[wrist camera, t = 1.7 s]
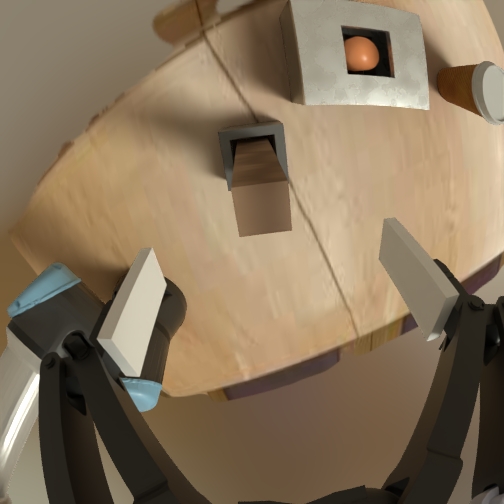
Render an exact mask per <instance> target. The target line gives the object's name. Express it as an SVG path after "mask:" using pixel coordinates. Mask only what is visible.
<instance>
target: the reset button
mask: <svg viewBox="0 0 504 504" xmlns="http://www.w3.org/2000/svg"><path fill="white" fill-rule="evenodd" d="M343 42H344V49H345V57H346V65H347V70H348V71H362V70H370V69H372V68H374V67H375V66H376V65H377V63H378V61H379V52H378V50H377V48H376V46H375V45H374V44H373V43H372V42H371V41H370V40H368V39H367V38H364V37H353V38H351V39H348V40H346V41H343Z"/></svg>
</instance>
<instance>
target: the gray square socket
mask: <svg viewBox="0 0 504 504" xmlns="http://www.w3.org/2000/svg"><path fill="white" fill-rule="evenodd" d="M218 134H219V140H220V146H221V151H222V157H223V163H224V168H225V174H226V179H227V185H228V191H231V183H232V176H233V168H234V161H235V157H234V151H233V145H232V140H233V139H240V138H247V137H254V136H262V135H271V134H272V138H273V146H274V152H275V154H276V156H277V158H278V161H279V163H280V165H281V167H282V169H283V171H284V173H285V175H286V177H287V179H288V183H289V177H288V166H287V156H286V146H285V136H284V127H283V123H281V122H280V121H272V122H263V123H255V124H247V125H240V126H233V127H227V128H221V129H220V131H219V132H218Z"/></svg>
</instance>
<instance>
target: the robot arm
mask: <svg viewBox="0 0 504 504" xmlns="http://www.w3.org/2000/svg"><path fill="white" fill-rule="evenodd" d="M379 260H380V262H381V263H382V265H383V266H384V268H385V269H386V271H387V273H388V274H389V276H390V277H391V279H392V281H393V282H394V284H395V286H396V287H397V289H398V291H399V292H400V294H401V296H402V297H403V299H404V301H405V303H406V304H407V306H408V308H409V310H410V312H411V313H412V315H413V317H414V319H415V321H416V322H417V324H418V326H419V328H420V330H421V332H422V334H423V335H424V338H425V339H426V341H430V340H433V339H436V338H439V337H440V335H441V333H442V331H443V329H444V331H445V332H446V334H447V335H446V337H445V339H444V341H443V342H442V344H441V346H440V348H439V350H441V348H442V351H441V355H440V358H439V363H438V366H437V369H436V373H435V376H434V379H433V383H432V386H431V388H430V392H429V394H428V397H427V400H426V403H425V406H424V408H423V411H422V413H421V416H420V418H419V421H418V423H417V426H416V428H415V430H414V433H413V435H412V437H411V439H410V442H409V444H408V446H407V448H406V450H405V452H404V454H403V456H402V458H401V460H400V462H399V463H398V465H397V467H396V468H395V469H394V470H393V472H392V473H391V474H390V475H389V477H388V478H387V480H386V482H385V483H384V485H383V486H382V488H381V489H377V488H365V485H363V486H360V487H356V488H352V489H347V490H343V491H338V492H334V493H332V494H330V495H328V496H325V497H323V498H320V499H317V500H315V501H312V502H309V503H307V504H447V502H448V500H449V498H450V496H451V494H452V492H453V489H454V487H455V485H456V482H457V480H458V478H459V475H460V473H461V470H462V467H463V461H462V460H461V458H460V454H461V451H462V448H463V445H464V442H465V439H466V436H467V432H468V429H469V426H470V422H471V418H472V414H473V411H474V406H475V402H476V397H477V393H478V388H479V382H480V423H479V438H478V448H477V457H476V464H475V470H474V476H473V483H472V500H471V501H470V503H469V504H504V296H501V297H499V298H498V300H497V302H496V304H485V303H484V301H483V300H482V299H481V298H479V297H477V296H475V295H468V293H467V292H466V291H465V289H464V288H463V287H462V285H461V284H460V283H459V281H458V280H457V279H456V278H455V277H454V275H453V274H452V273H451V272H450V270H449V269H448V268H447V266H446V265H445V264H444V263H442V262H441V261H439V260H438V259H434V260H432V258H431V257H430V256H429V255H428V254H427V252H426V251H425V250H424V249H423V248H422V247H421V245H420V244H419V243H418V242H417V241H416V240H415V239H414V237H413V236H412V235H411V234H410V233H409V232H408V231H407V230H406V229H405V228H404V226H403V225H402V224H401V223H400V222H399V221H398V220H397V219H396V218H387V219H384V223H383V231H382V239H381V246H380V253H379ZM186 310H187V304H186V300H185V297H184V295H183V293H182V292H181V291H180V289H179V288H178V287H177V286H176V285H175V284H174V283H172V282H171V281H170V280H168V279H166V278H165V277H163V274H162V272H161V269H160V267H159V264H158V261H157V259H156V256H155V253H154V251H153V248H152V247H151V248H145V249H140V251H139V253H138V255H137V257H136V258H135V260H134V262H133V264H132V266H131V268H130V270H129V272H128V274H126V275H124V276H123V277H122V278H121V279H120V280H119V281H118V283H117V285H116V287H115V289H114V291H113V295H112V300H109V301H108V302H107V304H106V305H105V304H104V303H103V302H102V301H101V300H100V299H99V298H98V297H97V296H96V295H95V294H94V293H93V292H92V291H91V290H90V289H89V288H88V287H87V286H86V285H85V284H84V283H83V282H82V281H81V278H79V277H77V276H76V275H75V274H74V273H73V272H72V271H71V270H70V269H69V268H68V267H67V266H66V265H64V264H63V263H60V262H56V263H53V264H51V265H50V266H49V267H48V268H47V269H46V270H44V271H43V272H42V273H41V274H40V275H39V276H38V277H37V278H36V279H35V280H34V281H33V282H32V283H31V284H30V285H29V286H28V287H27V288H26V289H25V290H24V291H23V292H22V293H21V294H20V295H19V296H18V297H17V298H16V299H15V300H14V302H13V303H12V304H11V305H10V306H9V307H8V308H7V312H8V314H9V316H10V317H12V320H11V321H10V323H9V324H8V326H7V328H6V331H7V338H8V346H7V347H6V349H5V351H4V352H3V354H2V356H1V358H0V504H12V502H11V499H10V498H9V496H8V494H7V490H8V486H9V483H10V481H11V478H12V475H13V472H14V469H15V467H16V464H17V462H18V459H19V456H20V454H21V452H22V449H23V447H24V445H25V442H26V440H27V438H28V435H29V433H30V431H31V429H32V427H33V425H34V423H35V421H36V418H37V416H38V414H39V437H40V448H41V458H42V466H43V472H44V478H45V485H46V489H47V495H48V499H49V504H114V502H113V499H112V496H111V493H110V490H109V487H108V483H107V480H106V476H105V473H104V469H103V465H102V462H101V457H100V453H99V448H98V444H97V439H96V434H95V429H94V423H95V426H96V428H97V430H98V432H99V435H100V436H101V439H102V441H103V443H104V445H105V447H106V449H107V451H108V453H109V455H110V457H111V459H112V461H113V463H114V464H115V466H116V468H117V470H118V472H119V473H120V475H121V477H122V479H123V480H124V482H125V484H126V485H127V487H128V488H129V490H130V492H131V493H132V495H133V497H134V502H133V504H212V503H211V502H210V501H209V500H207V499H206V498H205V497H204V496H203V495H202V494H200V493H199V492H198V491H197V490H196V489H195V488H194V487H193V486H192V485H191V483H190V482H189V481H188V480H187V479H186V477H185V476H184V475H183V474H182V472H181V471H180V470H179V469H178V467H177V466H176V465H175V463H174V462H173V461H172V459H171V458H170V457H169V455H168V454H167V453H166V451H165V450H164V449H163V447H162V446H161V444H160V443H159V441H158V440H157V438H156V437H155V435H154V434H153V432H152V431H151V429H150V428H149V426H148V425H147V423H146V421H145V420H144V418H143V417H142V415H141V413H140V412H141V411H147V410H150V409H152V408H153V407H154V406H155V405H156V404H157V401H158V397H159V393H160V390H161V389H162V381H163V376H164V370H165V365H166V360H167V354H168V349H169V344H170V340H171V339H172V337H173V336H174V335H175V333H176V332H177V330H178V329H179V327H180V326H181V325H182V323H183V321H184V319H185V315H186ZM93 421H94V423H93ZM238 504H290V503H281V502H274V501H254V502H238Z"/></svg>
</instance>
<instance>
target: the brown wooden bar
mask: <svg viewBox="0 0 504 504" xmlns="http://www.w3.org/2000/svg"><path fill="white" fill-rule="evenodd" d="M231 192H232V197H233V203H234V209H235V214H236V220H237V225H238V231H239V236H240V237H244V236H251V235H259V234H267V233H275V232H283V231H291V230H292V224H291V211H290V198H289V186H288V179H287V177H286V175H285V173H284V171H283V169H282V167H281V165H280V163H279V161H278V158H277V156H276V154H275V152H274V150H273V148H272V146H271V144H270V142H269V140H268V138H267V136H263V137H255V138H247V139H240V140H237V147H236V154H235V161H234V168H233V176H232V183H231Z"/></svg>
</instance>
